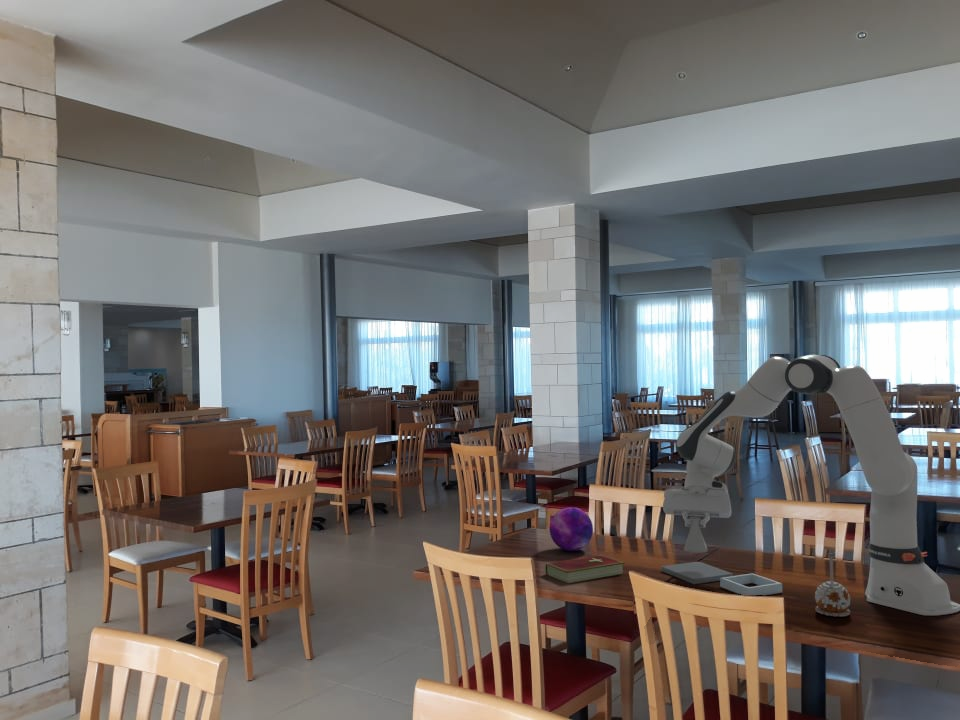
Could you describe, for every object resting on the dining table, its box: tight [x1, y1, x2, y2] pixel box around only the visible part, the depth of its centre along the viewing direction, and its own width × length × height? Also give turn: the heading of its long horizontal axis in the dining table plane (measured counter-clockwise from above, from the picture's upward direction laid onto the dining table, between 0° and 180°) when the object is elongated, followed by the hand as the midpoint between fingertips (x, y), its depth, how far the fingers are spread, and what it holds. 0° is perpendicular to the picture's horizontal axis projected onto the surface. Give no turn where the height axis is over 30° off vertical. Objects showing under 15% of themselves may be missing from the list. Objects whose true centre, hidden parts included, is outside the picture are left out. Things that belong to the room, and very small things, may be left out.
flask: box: [683, 516, 708, 554], centre depth 227 cm, size 7×7×10 cm
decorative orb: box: [549, 506, 594, 552], centre depth 262 cm, size 15×15×15 cm
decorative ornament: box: [814, 553, 851, 618], centre depth 189 cm, size 8×8×15 cm
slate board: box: [660, 561, 734, 585], centre depth 227 cm, size 16×14×2 cm
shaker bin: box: [719, 573, 783, 596], centre depth 211 cm, size 12×12×2 cm
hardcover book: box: [544, 554, 625, 584], centre depth 231 cm, size 12×21×4 cm, turn 117°
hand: (694, 526), depth 227 cm, fingers closed on flask, 3 cm apart
